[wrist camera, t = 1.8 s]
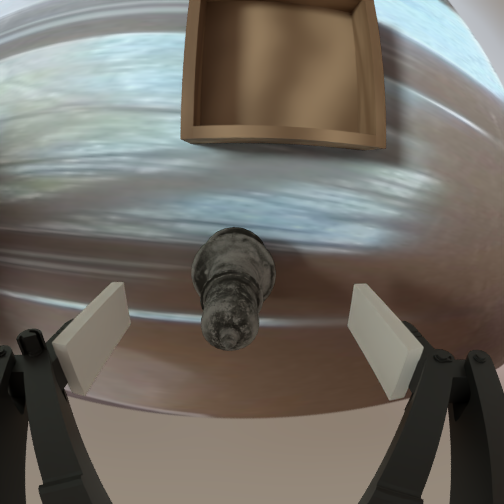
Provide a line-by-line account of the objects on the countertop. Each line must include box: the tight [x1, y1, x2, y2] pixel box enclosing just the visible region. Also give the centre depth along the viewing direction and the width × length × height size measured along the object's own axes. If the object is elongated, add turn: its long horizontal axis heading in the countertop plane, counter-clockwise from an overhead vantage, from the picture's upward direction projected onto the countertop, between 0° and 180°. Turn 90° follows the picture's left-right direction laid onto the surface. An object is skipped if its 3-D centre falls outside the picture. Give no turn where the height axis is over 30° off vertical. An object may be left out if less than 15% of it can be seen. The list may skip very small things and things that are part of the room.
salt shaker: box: [191, 227, 276, 351], centre depth 18 cm, size 6×6×12 cm
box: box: [181, 0, 386, 150], centre depth 17 cm, size 14×14×4 cm
